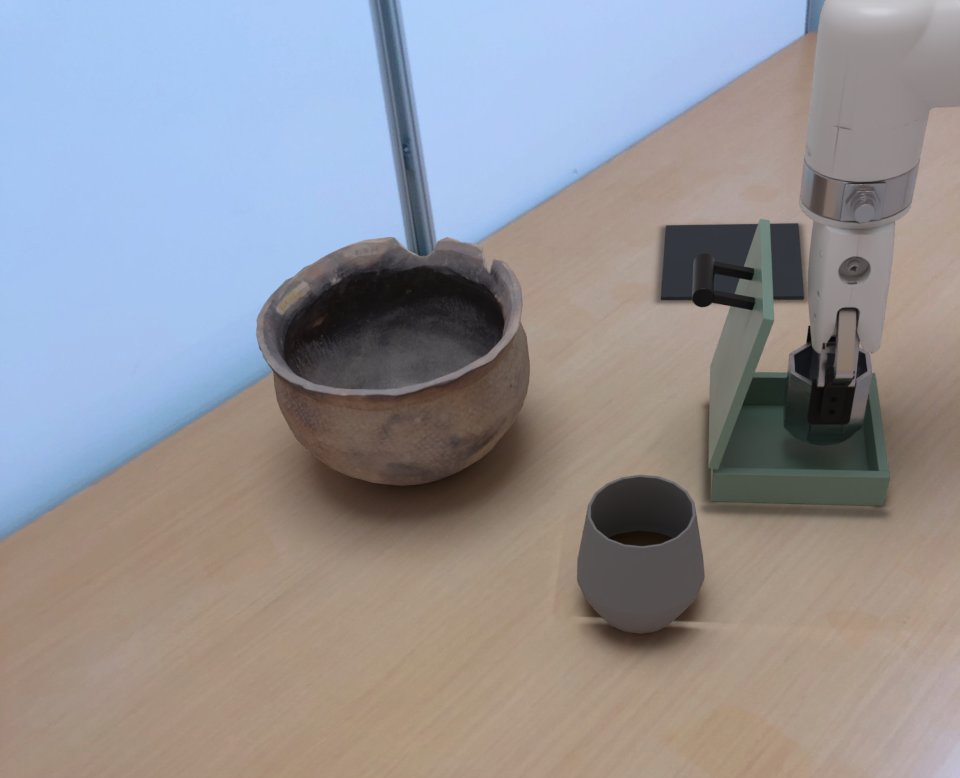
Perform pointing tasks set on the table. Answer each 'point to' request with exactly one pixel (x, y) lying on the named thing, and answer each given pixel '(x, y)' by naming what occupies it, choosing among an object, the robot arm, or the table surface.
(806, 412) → the octagonal grey canister
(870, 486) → the green tray
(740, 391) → the box lid
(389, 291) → the ceramic bowl
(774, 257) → the mat
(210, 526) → the table surface
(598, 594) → the cup
